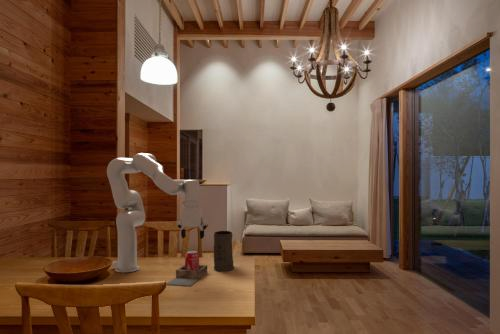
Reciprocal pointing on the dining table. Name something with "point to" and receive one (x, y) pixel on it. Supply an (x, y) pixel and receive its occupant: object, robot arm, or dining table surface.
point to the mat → (182, 282)
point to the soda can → (192, 260)
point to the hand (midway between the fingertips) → (192, 238)
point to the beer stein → (223, 251)
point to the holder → (191, 272)
